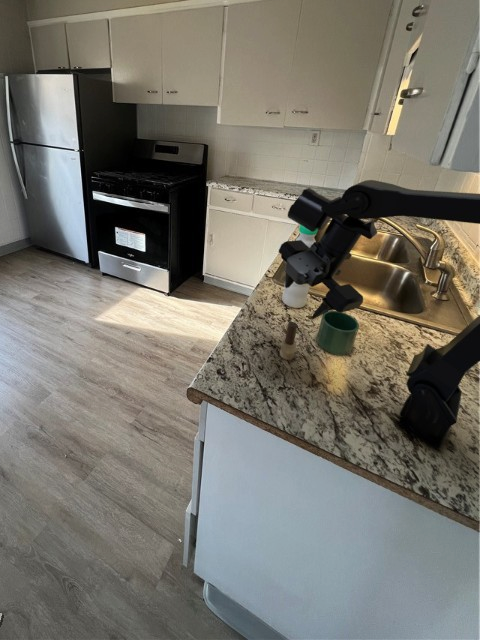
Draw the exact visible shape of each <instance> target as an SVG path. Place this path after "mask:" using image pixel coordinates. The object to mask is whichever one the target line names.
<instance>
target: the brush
mask: <svg viewBox="0 0 480 640" xmlns="http://www.w3.org/2000/svg"><path fill="white" fill-rule="evenodd" d="M297 329H298V324H297V323H296V322H294V321H289V322H288V324H287V329H286V333H285V337H284V338H282V340H281V345H280V350H279V356H280V358H281V359H283V360H286V361H291V360H293V359H294V357H295V353H296V347H297V341H296V333H297Z"/></svg>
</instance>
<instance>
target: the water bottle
mask: <svg viewBox="0 0 480 640" xmlns="http://www.w3.org/2000/svg"><path fill="white" fill-rule="evenodd" d="M318 230H319V229H317V230H316V231H314V232H312V231H310V230H308V229H306V228H305V227H303V226H301V225H300V224H299V227H298V233H299V235H298V237H297V238H296V239H295V241H297V240H301V241H303V242H304V243H305V244H306V245H307V246H308V247H309V248H310V247H311V245H312V244H313V243H314V242H317V241H316V239H315V236H317V234H318ZM310 288H311V286H310V285H309V284H302V285H298V284H296V283H295V282H293V283H292V285H291V286H290V287H289V288H286V287H285V284H284V286H283V292H282V295H281V300H282V302H283V304H285V306H287V307H290V308H295V309H300V308H303V307H305V306H306V305H307V303H308V302H307V301H308V294H309V292H310Z"/></svg>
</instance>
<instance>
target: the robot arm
mask: <svg viewBox="0 0 480 640" xmlns="http://www.w3.org/2000/svg"><path fill="white" fill-rule="evenodd" d="M392 217H393V218H394V217H411V218H419V219H420V218H421V219H428V220H430V219H431V220H437V221H438V220H439V221H447V222H457V223H469V224H477V225H480V193H475V192H474V193H473V192H459V191H458V192H457V191H456V192H455V191H454V192H453V191H441V190H440V191H438V190H425V189H424V190H423V189H411V188H406V187H404V186H403V187H402V186H400V185H396V184H393V183H390V182H384V181H379V180H375V179H367V180H363V181H361V182H358V183H356V184H353V185H351V186H350V187H348V188H347V189H345V191H344V192H343V193H342V195H341V196H337V197H335V198H334V199H332V200H331V199H329V198H327V197H325V196H323V195H321V194H319V193H318V192H316V191H315V189H313V188H310V187H308V188H304V189H303V190H302V191H301V194H300V195H299V196H297V198H296V199H295V201H294V202H293V204H291V205H290V207H289V208H288V212H287V218H288V219H290V220H291V221H293V222H295V223H297V224H298V225H299V226H300V225H301V226H303V227H305V228H306V229H308V230H310V231H312V232H314V231H316V230H317V229H318V230H319V231H322V230H324V229H325V230H324V232H323V234H322V235H321V237H320V239H319V241H316V242H314V243H313V244H312V245H311V247H310V248H309V247H308V246H307V245H306V244H305V243H304V242H303V241H301V240H297V241H296V240H287V241H284V242H283V243H281V245H280V247H279V248H278V251H277V252H278V253H279V254H280V255H281V256H280V258H281V259H282V261H283V262H284V264H285V268H284V271H285V281H284V285H285V287H286V288H289V287H290V286H291V285H292V283H293V282H295V283H296V284H298V285H302V284H309V285H310V288H313V287H315V286H318V285H320V284H323V285H324V286H325V287H326V288H327V289H328V290H327V292H326V294H325V297H322V298H321V301H322V302H321V304H319V306H318V307H317V308H316V310H315V311H314V313H313V315H312V316H311V317H312V319H316V318H319V317H322V315H323V314H324V313H326V312H328V311H338V312H340V313H342V312H343V313H346V312H349V311H353V310H357V309H360V307H361V305H362V304H363V303H364V295H362V294H361V293H360V292H359V291H358V290H357V289H355V287H354V286H352V285H351V284H350V283H346V284H340V283H339V282H338V281H336V279H335V278H334V277H335V276H339V275H340V274H341V272H342V271H341V270H340V268H341V266H342V265H343V263H344V262H345V261H347V260H350V259H351V258H352V256H353V255H352V254H351V251H352V250H353V249H354V247H355V245H356V244H357V242H358V241H359V239H360V238H361V237H362V236H363V237H364V238H366V239H367V240H371V239H373V238H374V237H375V236H376V235H377V234H378V230H377V227H376V225H375V220H373V219H383V218H392ZM366 220H367V221H366ZM368 220H369V221H368ZM326 226H327V227H326ZM478 363H480V314H479V315H477V317H476V318H475V319H473V320H472V321H471V322H470V323H469V324H468V325H466V327H465V328H463V329H462V330H461V331H460V332H459V333H458V334H457V335H455V336H454V337H453V339H451V340H450V341H449V342H448V343H447V344H445V345H444V346H442V347H438V348H434V347H433V346H432V345H430V344H429V343H427V344H426V345H425V346H424V348H423V350H422V351H421V352H419V353H417V354H414V355H413V358H412V360H411V362H410V365H409V368H408V370H407V372H406V376H408V377H407V380H406V387H407V390H408V392H409V395H408V397H407V398H406V399H405V401H404V404H403V406H402V408H401V410H400V411H399V416H400V419H399V420H398V422H397V424H398V426H399V427H401V428H402V429H404V430H405V431H407V432H408V433H409V434H411V435H412V436H414V437H416V438H417V439H419V440H420V441H422V442H423V443H425V444H426V445H428V446H429V447H431V448H433V449H434V450H435V451H439V450H440V449H441V447H442V445H443V443H444V441H445V438H446V437H447V434H448V432H449V430H450V429H451V427H452V426H453V425H455V424H457V421H458V416H459V411H460V404H461V400H462V399H461V398H462V393H463V392H462V391H463V390H461V387H459V385H460V384H461V382H462V381H463V378H464V377H465V375H466V373H467V372H469V370H471V369H472V368H473V367H474V366H475V365H477V364H478Z"/></svg>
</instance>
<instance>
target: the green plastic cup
mask: <svg viewBox="0 0 480 640" xmlns="http://www.w3.org/2000/svg"><path fill="white" fill-rule="evenodd" d="M359 329H360V323H359V322H358V320H357V318H354V316H352V315H350V314H348V313H346V312H342V313H340V312H338V311H336V310H330V311H328V312H326V313H324V314H322V315H321V319H320V324H319V327H318V331H317V335H316V343H317V345H318V346H319V347H320V348H321V349H322V350H324V351H326V352H327V353H330V354H331V355H336V356H345V355H348V354H350V353H351V352H352V351H353V348H354V344H355V341H356V338H357V335H358V332H359Z"/></svg>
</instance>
